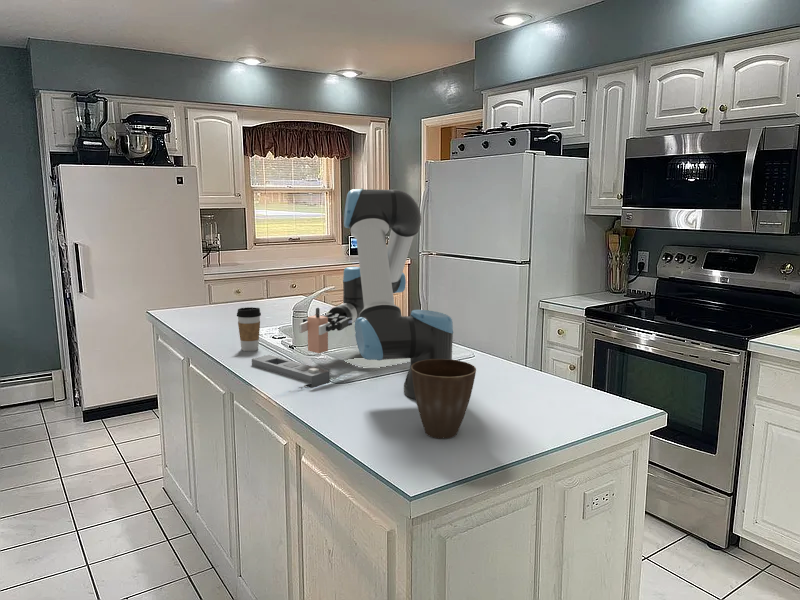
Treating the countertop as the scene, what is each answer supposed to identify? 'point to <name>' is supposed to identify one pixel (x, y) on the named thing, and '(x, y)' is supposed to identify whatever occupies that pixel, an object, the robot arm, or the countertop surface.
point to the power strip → (293, 370)
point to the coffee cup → (249, 328)
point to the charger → (317, 333)
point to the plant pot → (442, 394)
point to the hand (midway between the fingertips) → (310, 329)
